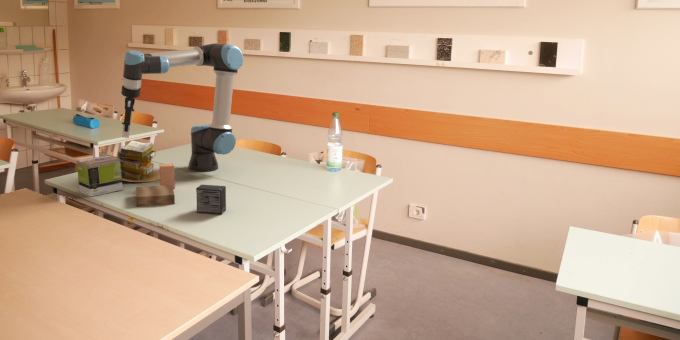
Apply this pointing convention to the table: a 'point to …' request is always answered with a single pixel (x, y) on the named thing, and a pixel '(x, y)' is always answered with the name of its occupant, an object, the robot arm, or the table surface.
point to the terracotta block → (167, 174)
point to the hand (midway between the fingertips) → (126, 130)
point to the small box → (211, 199)
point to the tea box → (99, 175)
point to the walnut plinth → (155, 195)
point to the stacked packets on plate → (138, 162)
